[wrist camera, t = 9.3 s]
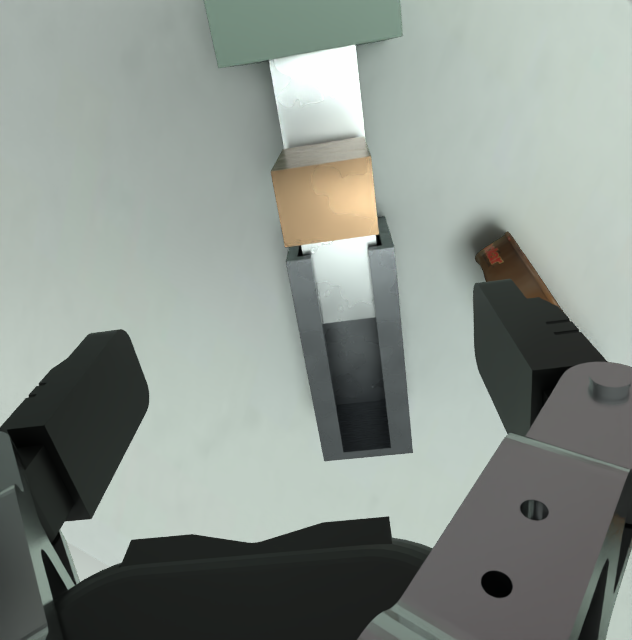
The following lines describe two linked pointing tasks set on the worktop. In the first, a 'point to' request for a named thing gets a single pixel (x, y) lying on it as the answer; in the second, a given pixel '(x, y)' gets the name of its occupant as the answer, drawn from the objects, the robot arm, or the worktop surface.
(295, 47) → the green block
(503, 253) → the tin
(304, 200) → the slider with block handle
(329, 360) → the sleeve
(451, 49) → the worktop surface
